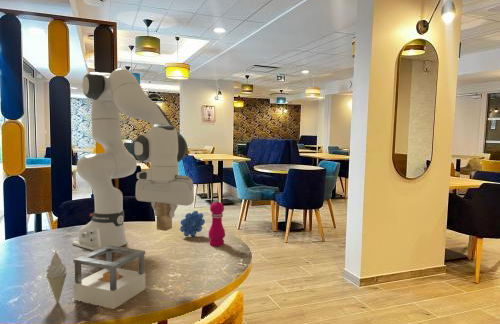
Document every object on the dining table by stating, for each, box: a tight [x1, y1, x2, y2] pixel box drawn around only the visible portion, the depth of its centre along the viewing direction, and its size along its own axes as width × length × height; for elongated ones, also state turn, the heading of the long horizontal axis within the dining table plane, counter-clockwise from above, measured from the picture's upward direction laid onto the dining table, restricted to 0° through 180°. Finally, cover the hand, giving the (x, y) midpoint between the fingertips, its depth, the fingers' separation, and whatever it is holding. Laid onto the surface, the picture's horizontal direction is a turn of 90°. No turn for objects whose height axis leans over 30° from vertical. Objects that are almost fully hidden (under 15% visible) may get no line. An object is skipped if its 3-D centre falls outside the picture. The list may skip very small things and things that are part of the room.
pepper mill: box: [208, 198, 226, 247], centre depth 157 cm, size 7×7×20 cm
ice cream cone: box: [45, 250, 68, 303], centre depth 102 cm, size 5×5×15 cm
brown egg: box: [103, 271, 119, 282], centre depth 108 cm, size 4×4×5 cm
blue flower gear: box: [179, 210, 206, 237], centre depth 169 cm, size 12×7×12 cm, turn 112°
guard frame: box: [72, 245, 146, 291], centre depth 107 cm, size 14×14×7 cm
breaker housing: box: [73, 267, 146, 310], centre depth 108 cm, size 14×14×5 cm
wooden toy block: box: [156, 202, 173, 232], centre depth 119 cm, size 4×4×9 cm
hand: (164, 216), depth 119 cm, fingers closed on wooden toy block, 3 cm apart
